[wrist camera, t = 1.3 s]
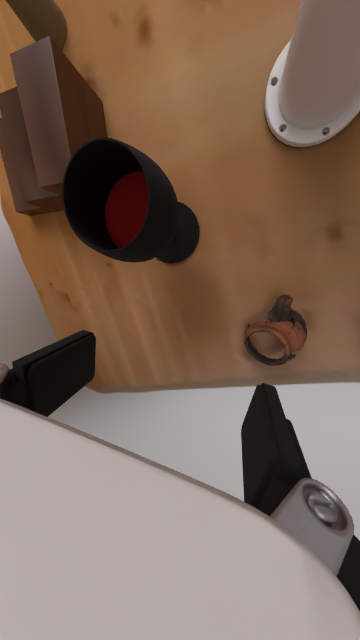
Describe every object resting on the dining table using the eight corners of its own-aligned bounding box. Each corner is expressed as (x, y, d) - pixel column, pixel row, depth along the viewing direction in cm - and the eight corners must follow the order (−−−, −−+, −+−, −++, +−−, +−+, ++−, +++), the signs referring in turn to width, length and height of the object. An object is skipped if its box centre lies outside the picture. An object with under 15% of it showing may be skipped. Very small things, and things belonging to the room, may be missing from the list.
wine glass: (183, 272, 36) (133, 281, 18) (137, 248, 37) (45, 232, 19) (210, 216, 33) (181, 155, 14) (158, 191, 34) (67, 101, 15)
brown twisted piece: (306, 349, 35) (294, 379, 30) (254, 335, 41) (237, 358, 36) (319, 288, 29) (307, 311, 24) (257, 282, 35) (237, 299, 30)
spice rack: (30, 215, 42) (-28, 201, 32) (10, 131, 38) (-62, 88, 28) (115, 201, 36) (74, 179, 27) (102, 101, 32) (49, 34, 23)
